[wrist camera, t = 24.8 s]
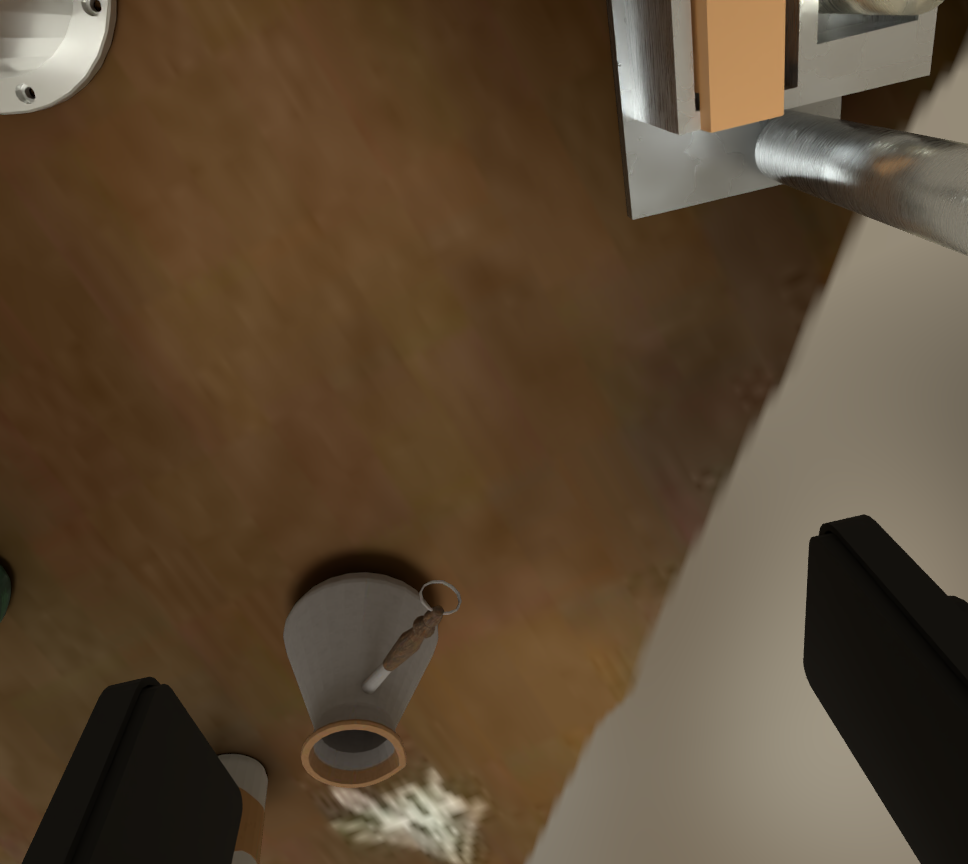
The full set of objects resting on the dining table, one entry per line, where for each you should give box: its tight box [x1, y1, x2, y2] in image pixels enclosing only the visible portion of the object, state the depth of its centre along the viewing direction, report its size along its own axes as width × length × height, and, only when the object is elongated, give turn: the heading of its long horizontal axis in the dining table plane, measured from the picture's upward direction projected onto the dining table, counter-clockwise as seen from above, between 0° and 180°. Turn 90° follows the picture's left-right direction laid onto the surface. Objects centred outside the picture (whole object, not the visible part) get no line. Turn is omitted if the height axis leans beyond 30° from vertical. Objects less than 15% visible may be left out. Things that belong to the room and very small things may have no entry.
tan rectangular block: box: [690, 0, 786, 133], centre depth 31 cm, size 9×3×8 cm, turn 12°
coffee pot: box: [283, 572, 461, 788], centre depth 45 cm, size 21×12×15 cm, turn 157°
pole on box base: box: [606, 0, 968, 256], centre depth 28 cm, size 15×12×20 cm
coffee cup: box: [218, 754, 268, 864], centre depth 56 cm, size 8×8×15 cm
